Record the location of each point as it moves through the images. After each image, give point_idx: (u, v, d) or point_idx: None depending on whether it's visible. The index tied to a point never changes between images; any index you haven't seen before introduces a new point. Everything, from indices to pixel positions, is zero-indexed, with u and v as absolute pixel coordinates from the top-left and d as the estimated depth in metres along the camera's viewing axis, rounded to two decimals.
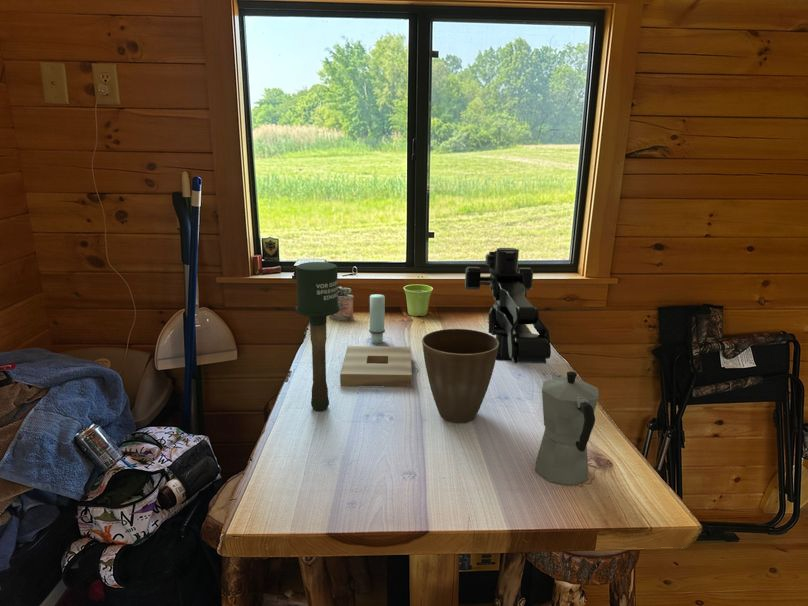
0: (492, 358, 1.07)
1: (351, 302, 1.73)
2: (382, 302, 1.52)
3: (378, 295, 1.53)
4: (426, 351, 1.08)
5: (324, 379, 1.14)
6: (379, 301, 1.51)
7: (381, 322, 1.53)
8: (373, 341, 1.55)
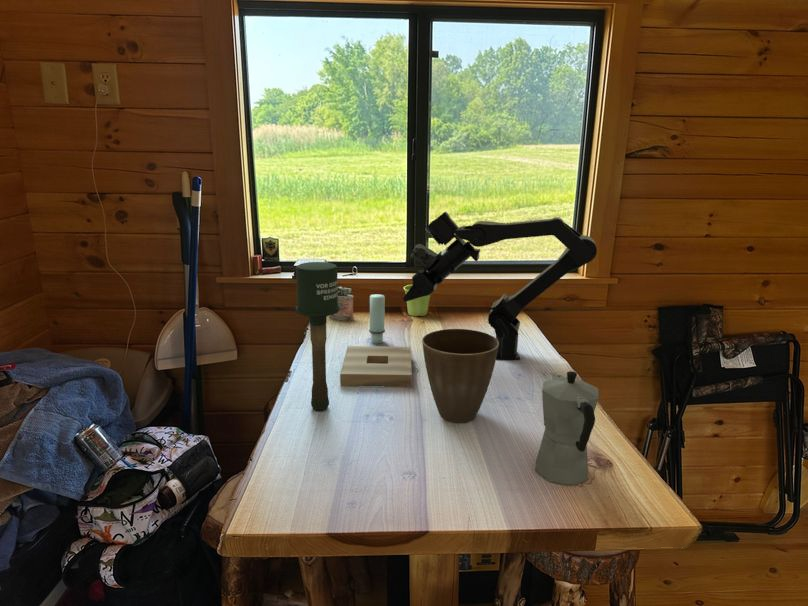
0: (492, 358, 1.07)
1: (351, 302, 1.73)
2: (382, 302, 1.52)
3: (378, 295, 1.53)
4: (426, 351, 1.08)
5: (324, 379, 1.14)
6: (379, 301, 1.51)
7: (381, 322, 1.53)
8: (373, 341, 1.55)
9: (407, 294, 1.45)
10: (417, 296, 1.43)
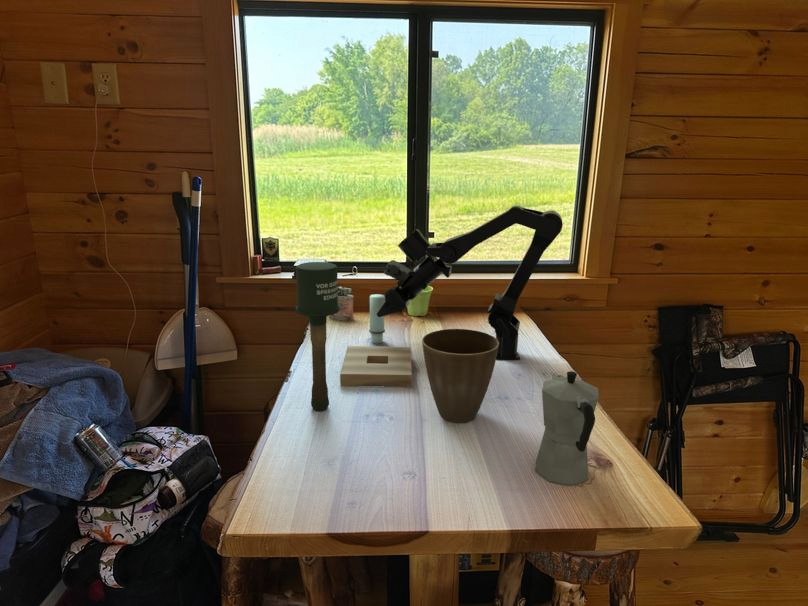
0: (492, 358, 1.07)
1: (351, 302, 1.73)
2: (382, 302, 1.52)
3: (378, 295, 1.53)
4: (426, 351, 1.08)
5: (324, 379, 1.14)
6: (379, 301, 1.51)
7: (381, 322, 1.53)
8: (373, 341, 1.55)
9: (380, 310, 1.47)
10: (390, 312, 1.46)
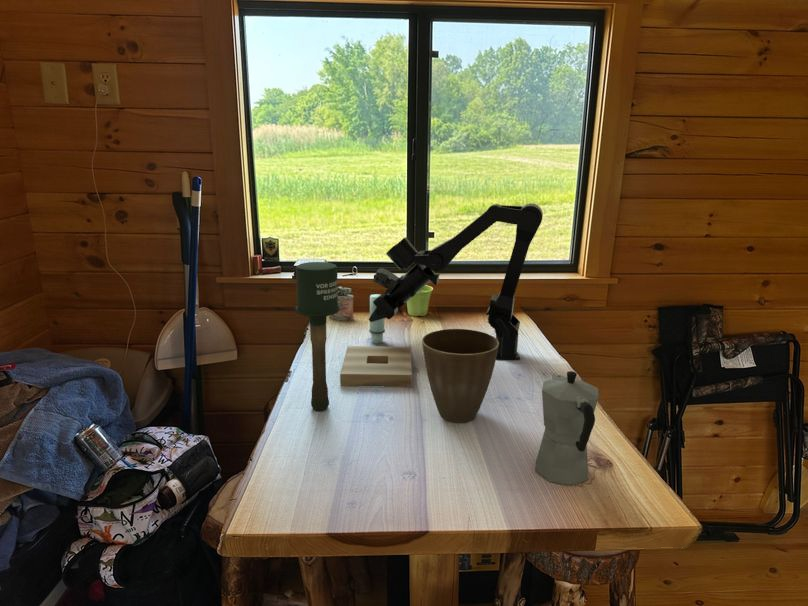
0: (492, 358, 1.07)
1: (351, 302, 1.73)
2: None
3: (378, 295, 1.53)
4: (426, 351, 1.08)
5: (324, 379, 1.14)
6: None
7: (381, 322, 1.53)
8: (373, 341, 1.55)
9: (372, 315, 1.51)
10: (382, 317, 1.50)
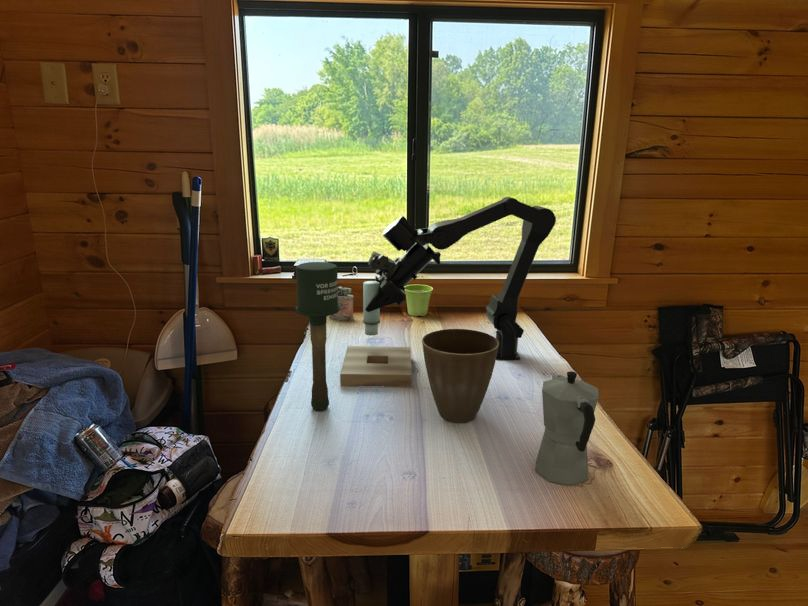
0: (492, 358, 1.07)
1: (351, 302, 1.73)
2: None
3: (371, 282, 1.39)
4: (426, 351, 1.08)
5: (324, 379, 1.14)
6: (376, 288, 1.37)
7: (378, 311, 1.39)
8: (369, 333, 1.40)
9: (371, 304, 1.36)
10: (382, 305, 1.36)
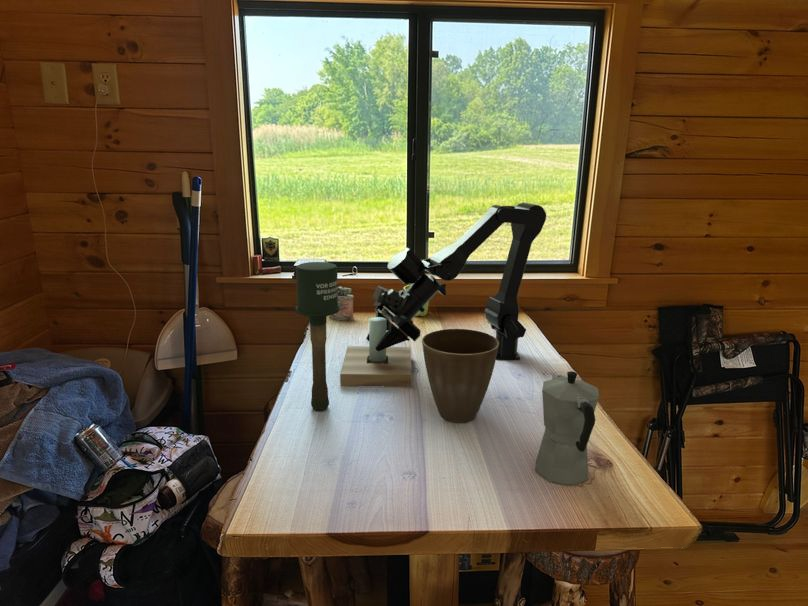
0: (492, 358, 1.07)
1: (351, 302, 1.73)
2: None
3: (377, 318, 1.33)
4: (426, 351, 1.08)
5: (324, 379, 1.14)
6: (385, 325, 1.32)
7: None
8: None
9: (382, 343, 1.29)
10: (394, 343, 1.30)
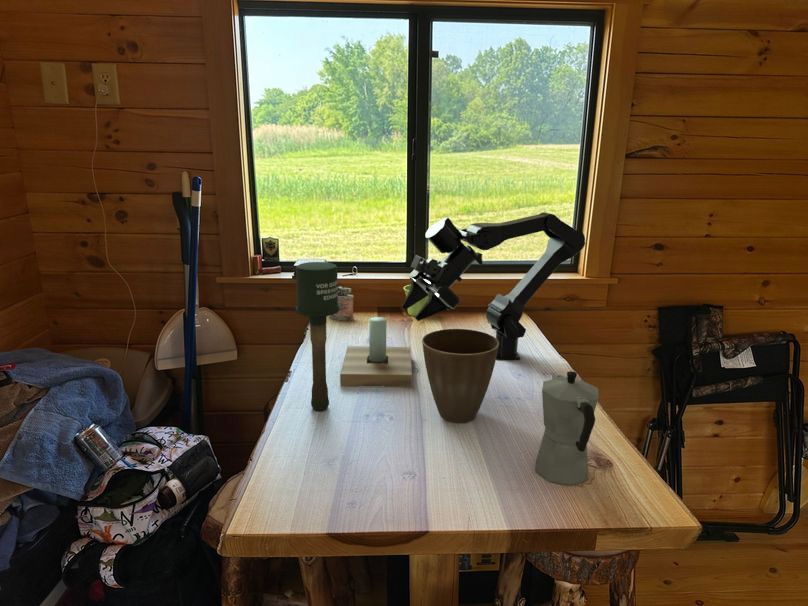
0: (492, 358, 1.07)
1: (351, 302, 1.73)
2: None
3: (377, 318, 1.33)
4: (426, 351, 1.08)
5: (324, 379, 1.14)
6: (385, 325, 1.32)
7: (385, 348, 1.34)
8: None
9: (422, 312, 1.30)
10: (434, 312, 1.31)
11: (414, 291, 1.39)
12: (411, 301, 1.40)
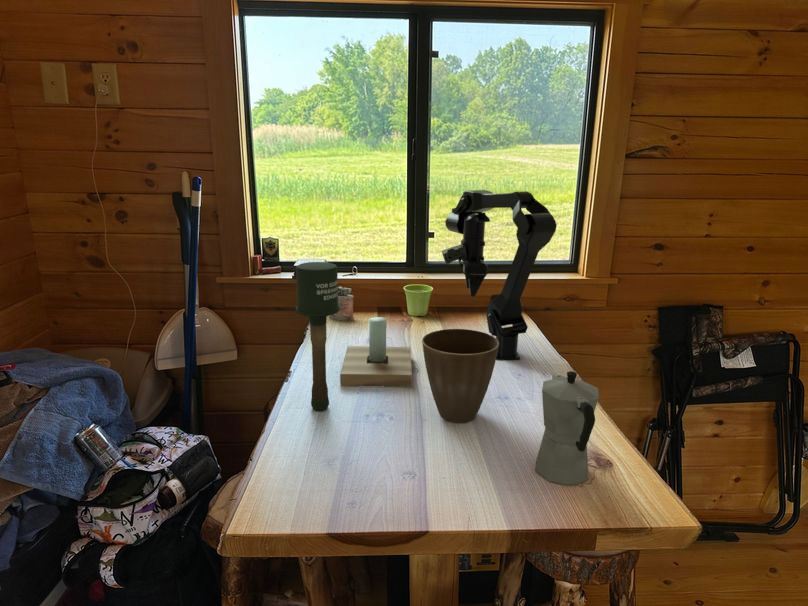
0: (492, 358, 1.07)
1: (351, 302, 1.73)
2: None
3: (377, 318, 1.33)
4: (426, 351, 1.08)
5: (324, 379, 1.14)
6: (384, 325, 1.31)
7: (385, 348, 1.34)
8: None
9: (471, 289, 1.53)
10: (479, 283, 1.52)
11: None
12: None
